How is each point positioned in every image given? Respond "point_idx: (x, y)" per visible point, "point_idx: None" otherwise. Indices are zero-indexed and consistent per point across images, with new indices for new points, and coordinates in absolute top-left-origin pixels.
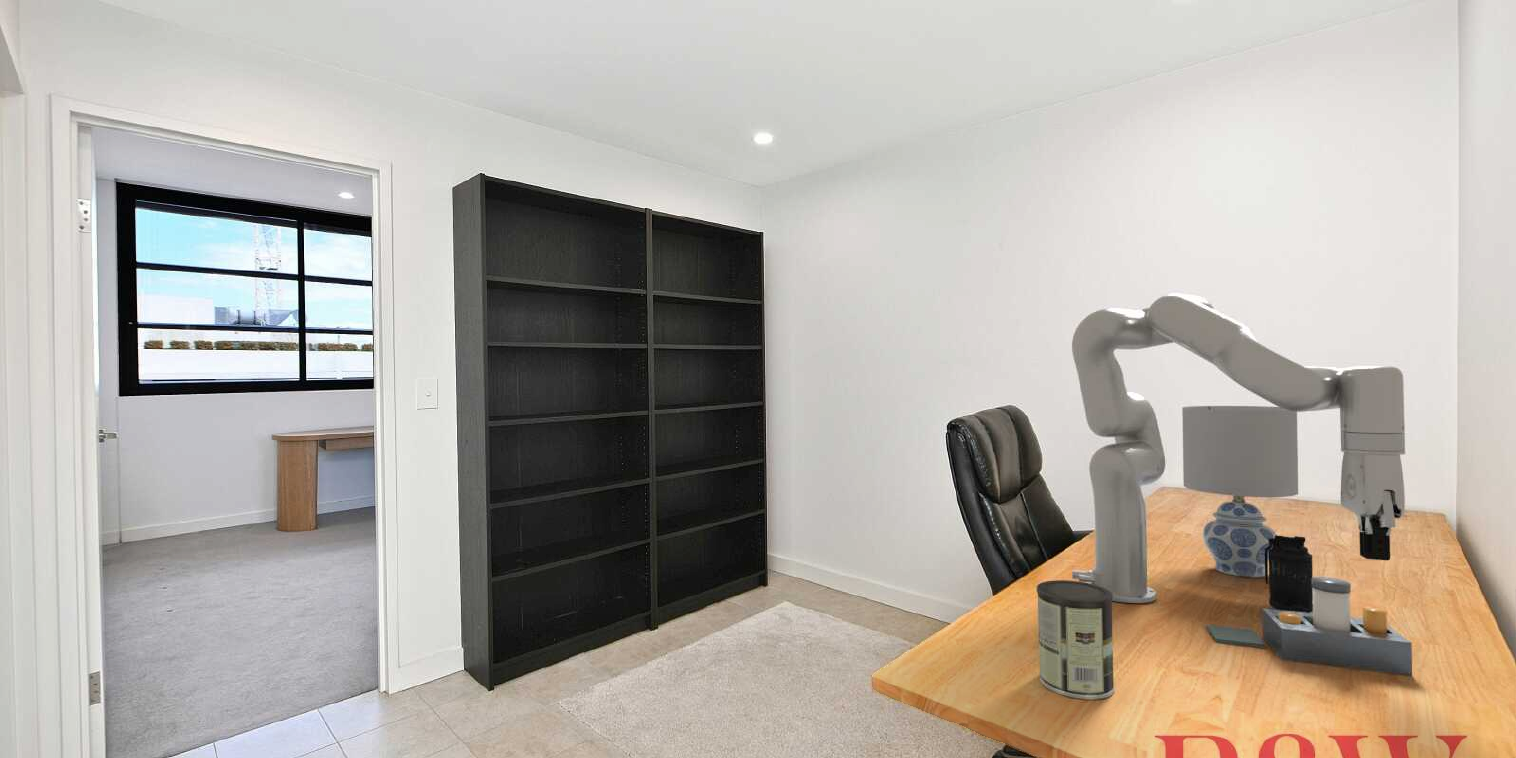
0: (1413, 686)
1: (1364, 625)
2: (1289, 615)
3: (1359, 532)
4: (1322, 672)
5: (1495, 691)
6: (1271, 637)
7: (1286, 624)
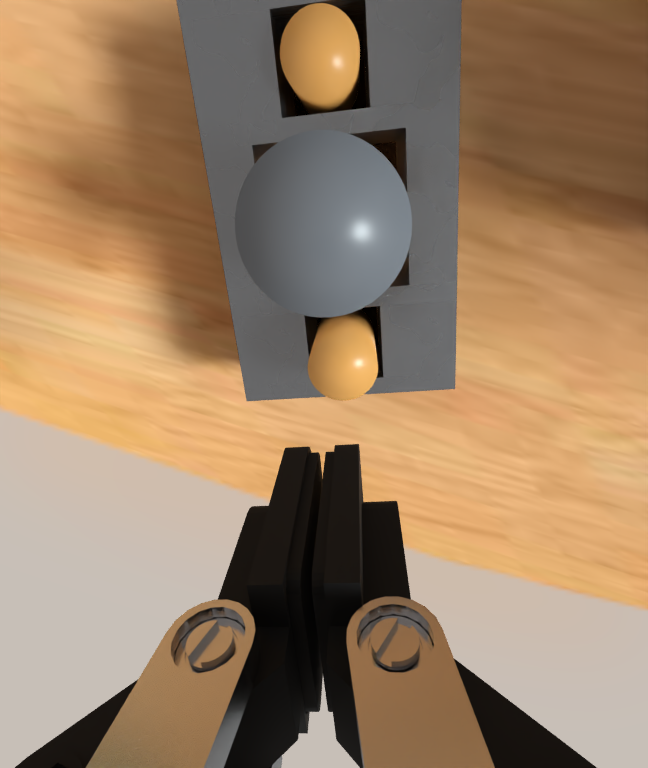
0: (191, 345)
1: (336, 319)
2: (309, 49)
3: (358, 576)
4: (167, 148)
5: (252, 484)
6: None
7: (245, 30)
